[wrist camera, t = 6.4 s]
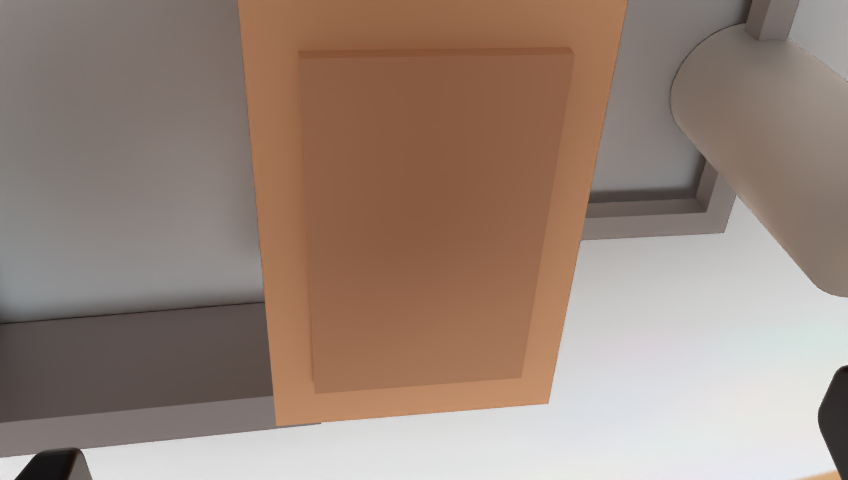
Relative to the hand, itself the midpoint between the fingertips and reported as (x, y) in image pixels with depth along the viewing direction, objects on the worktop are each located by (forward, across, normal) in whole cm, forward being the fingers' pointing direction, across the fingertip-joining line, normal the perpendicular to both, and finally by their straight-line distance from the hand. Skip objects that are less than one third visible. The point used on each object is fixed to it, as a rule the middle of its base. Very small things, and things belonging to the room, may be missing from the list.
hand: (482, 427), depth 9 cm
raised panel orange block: (+9, -3, 0) cm, 9 cm away
